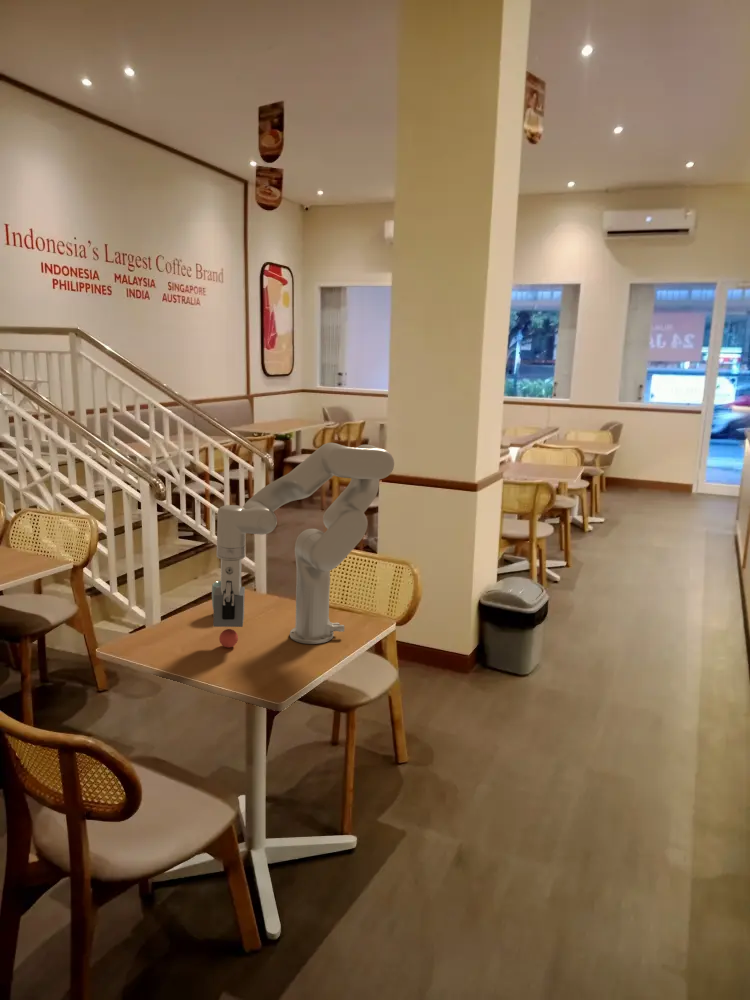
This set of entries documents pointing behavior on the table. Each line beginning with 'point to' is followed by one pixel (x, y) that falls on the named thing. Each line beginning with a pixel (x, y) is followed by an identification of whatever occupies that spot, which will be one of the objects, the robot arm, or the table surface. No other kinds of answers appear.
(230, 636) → the ball
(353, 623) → the table surface
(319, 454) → the robot arm
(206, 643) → the table surface
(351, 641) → the table surface
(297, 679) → the table surface
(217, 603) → the matte gray cube
